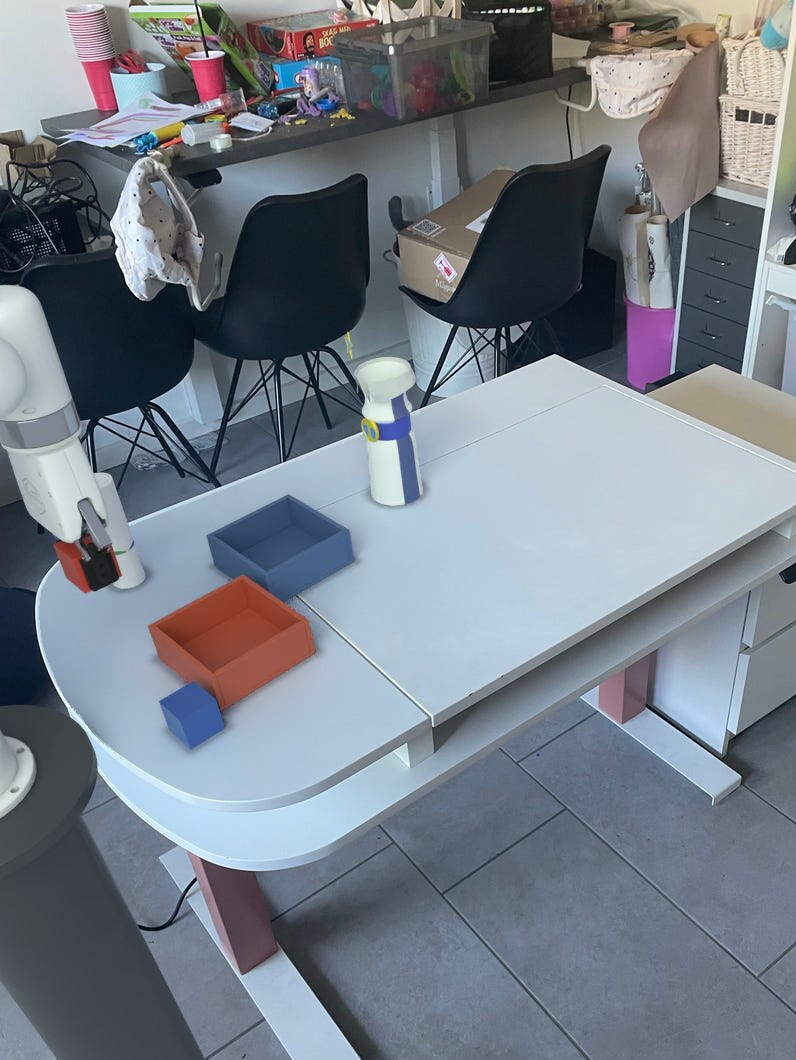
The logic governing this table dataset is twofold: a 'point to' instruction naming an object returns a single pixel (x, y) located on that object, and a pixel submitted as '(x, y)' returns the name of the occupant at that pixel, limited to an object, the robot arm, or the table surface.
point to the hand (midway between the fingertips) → (93, 574)
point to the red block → (77, 562)
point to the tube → (120, 535)
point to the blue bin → (282, 547)
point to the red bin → (233, 640)
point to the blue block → (192, 714)
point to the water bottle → (389, 429)
